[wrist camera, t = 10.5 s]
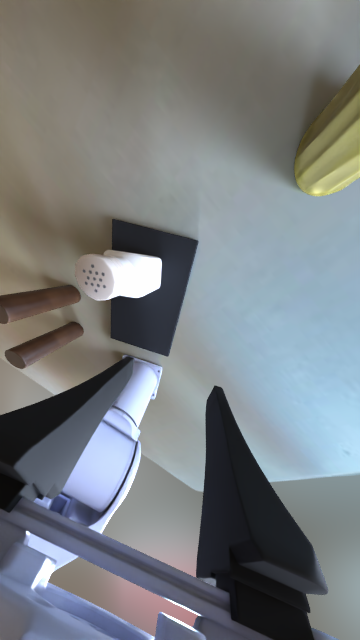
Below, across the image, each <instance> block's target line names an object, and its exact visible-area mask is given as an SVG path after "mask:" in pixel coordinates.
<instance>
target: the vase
mask: <svg viewBox="0 0 360 640" xmlns="http://www.w3.org/2000/svg"><path fill="white" fill-rule="evenodd" d="M294 171H295V179H296V182H297V184H298V186H299V187H300V188H301V190H302V191H303V192H305V193H307V194H309V195H312V196H324V195H328V194H331V193H334V192H337V191H340V190H342V189H343V188H345V187H346V186H348V185H349V184H351V183H352V182H353V181H355V180H357V179H358V178H360V65H359V66H358V68H357V69H356V70H355V71H354V73H353V74H352V75H351V76H350V78H349V79H348V80H347V82H346V83H345V84H344V86H343V87H342V88H341V89H340V91H339V92H338V93H337V94H336V96H335V97H334V98H333V99H332V101H331V102H330V103H329V105H328V106H327V107H326V108H325V109H324V110H323V111H322V112H321V113H320V114H319V115H318V116H317V118H316V119H315V120H314V121H313V122H312V124H311V125H310V126H309V128H308V129H307V131H306V132H305V134H304V136H303V138H302V140H301V142H300V145H299V147H298V150H297V153H296V157H295V164H294Z"/></svg>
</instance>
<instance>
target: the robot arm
mask: <svg viewBox="0 0 360 640" xmlns="http://www.w3.org/2000/svg"><path fill="white" fill-rule="evenodd" d="M161 373H162V367H161V366H158V365H155V364H152V363H149V362H146V361H143V360H140V359H137V358H134V357H131V356H128V355H123V357H122V360H120V361H119V362H117V363H116V364H114V365H113V366H111V367H110V368H108V369H106V370H105V371H103V372H102V373H100V374H98V375H96V376H95V377H93V378H91V379H89V380H87V381H85V382H84V383H82V384H80V385H78V386H75V387H73V388H71V389H69V390H67V391H65V392H62V393H60V394H58V395H55V396H53V397H50V398H48V399H45V400H43V401H40V402H38V403H35V404H33V405H30V406H27V407H24V408H21V409H18V410H15V411H12V412H9V413H6V414H3V415H0V640H339V639H337V638H335V637H332V636H330V635H328V634H326V633H324V632H321V631H319V630H316V629H314V628H311V626H310V623H309V619H308V616H307V612H308V613H310V607H309V604H308V600H307V597H306V594H318V595H324V594H327V593H328V587H327V584H326V581H325V578H324V576H323V573H322V570H321V567H320V564H319V562H318V559H317V557H316V554H315V552H314V549H313V547H312V545H311V543H310V542H309V540H308V539H307V537H306V536H305V535H304V533H303V532H302V531H301V529H300V528H299V526H298V525H297V523H296V522H295V520H294V519H293V518H292V516H291V515H290V513H289V512H288V511H287V509H286V508H285V506H284V505H283V503H282V502H281V500H280V499H279V497H278V496H277V494H276V493H275V491H274V489H273V488H272V486H271V485H270V483H269V481H268V480H267V478H266V477H265V475H264V473H263V472H262V470H261V468H260V467H259V465H258V463H257V462H256V460H255V458H254V456H253V455H252V453H251V451H250V449H249V447H248V445H247V443H246V441H245V440H244V438H243V436H242V433H241V431H240V429H239V427H238V425H237V423H236V421H235V418H234V416H233V414H232V411H231V409H230V407H229V404H228V402H227V399H226V396H225V394H224V391H223V389H222V388H221V387H218V386H214V388H213V390H212V392H211V394H210V395H209V397H208V399H207V404H206V464H205V480H204V493H203V505H202V516H201V526H200V536H199V545H198V554H197V569H196V577H193V576H191V575H189V574H187V573H185V572H183V571H180V570H178V569H176V568H174V567H172V566H170V565H167V564H165V563H163V562H161V561H159V560H157V559H154V558H152V557H150V556H148V555H146V554H144V553H142V552H140V551H137V550H135V549H133V548H131V547H129V546H127V545H124V544H122V543H120V542H118V541H116V540H114V539H112V538H109V537H107V536H105V535H103V534H101V533H102V531H103V530H104V528H105V526H106V524H107V523H108V521H109V519H110V518H111V516H112V514H113V513H114V511H115V510H116V509H117V508H118V506H119V505H120V504H121V502H122V501H123V499H124V498H125V496H126V494H127V492H128V490H129V488H130V486H131V484H132V482H133V479H134V477H135V474H136V471H137V469H138V465H139V461H140V456H141V444H140V441H139V440H137V439H138V436H139V434H140V430H139V429H138V426H139V424H140V421H141V419H142V416H143V414H144V412H145V409H146V407H147V405H148V402H149V400H150V399H155V397H156V393H157V389H158V385H159V381H160V377H161ZM77 557H80V558H83V559H85V560H87V561H89V562H91V563H93V564H95V565H97V566H99V567H101V568H103V569H105V570H107V571H109V572H111V573H113V574H115V575H117V576H120V577H122V578H124V579H126V580H128V581H130V582H132V583H134V584H136V585H138V586H140V587H142V588H145V589H146V590H148V591H150V592H152V593H155V594H157V595H159V596H161V597H163V598H165V599H167V600H169V601H171V602H173V603H175V604H177V605H179V606H181V607H183V608H185V609H187V610H189V611H191V612H193V613H196V614H198V615H200V616H198V617H197V618H196V620H195V623H194V626H193V627H190V626H188V625H186V624H184V623H182V622H180V621H178V620H176V619H174V618H172V617H170V616H168V615H166V614H164V613H162V612H160V613H159V614H158V620H157V627H156V635H155V637H153V636H151V635H150V634H148V633H146V632H144V631H143V630H141V629H139V628H137V627H135V626H133V625H132V624H130V623H128V622H126V621H125V620H123V619H121V618H119V617H117V616H115V615H114V614H112V613H110V612H108V611H106V610H104V609H102V608H100V607H98V606H96V605H94V604H92V603H90V602H88V601H86V600H84V599H82V598H80V597H78V596H76V595H74V594H72V593H70V592H67V591H65V590H63V589H61V588H59V587H57V586H55V585H53V584H50V583H48V579H49V577H50V575H51V573H52V572H53V571H55V570H56V569H58V568H60V567H61V566H63V565H65V564H67V563H68V562H70V561H72V560H74V559H75V558H77ZM206 582H207V583H206ZM208 583H209V584H208Z"/></svg>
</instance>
